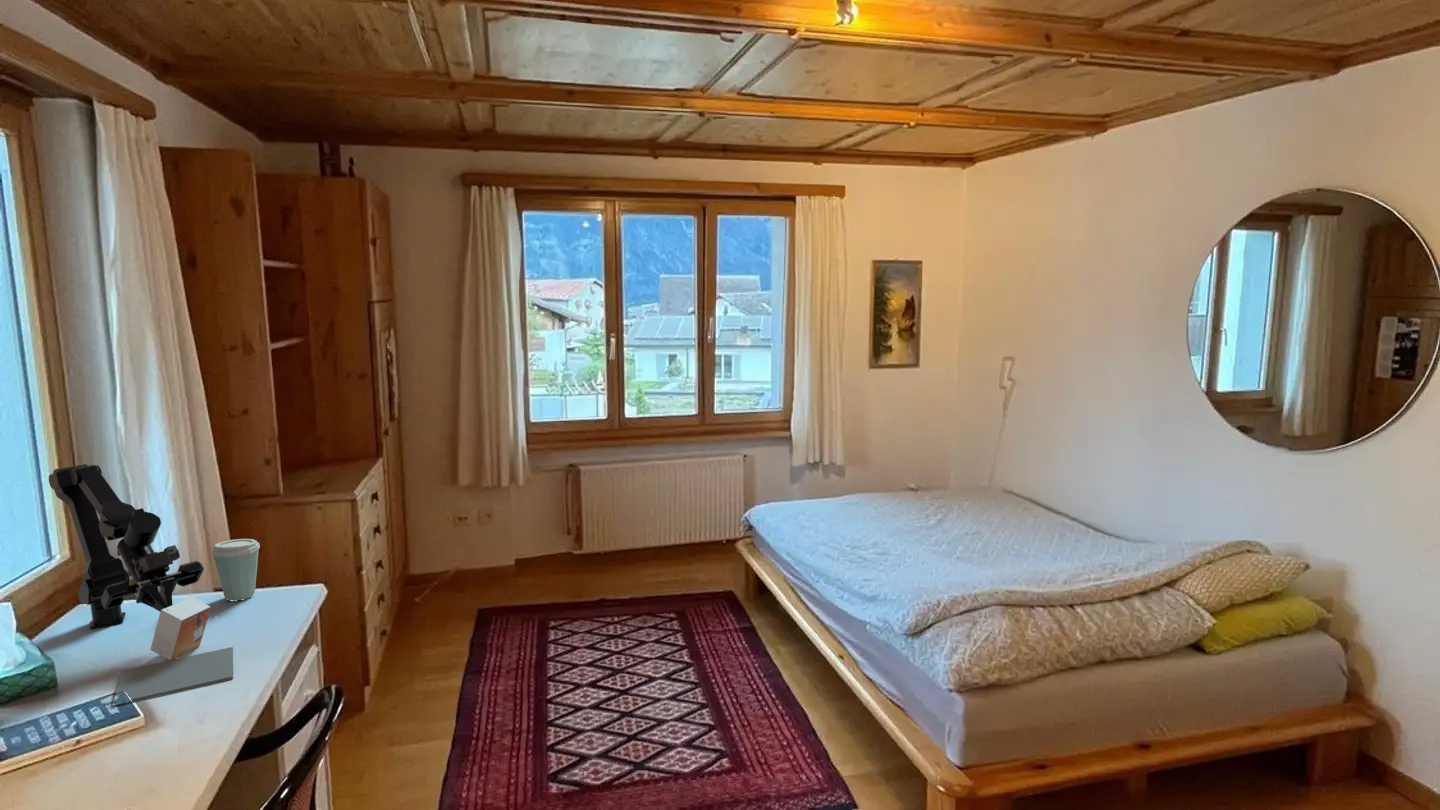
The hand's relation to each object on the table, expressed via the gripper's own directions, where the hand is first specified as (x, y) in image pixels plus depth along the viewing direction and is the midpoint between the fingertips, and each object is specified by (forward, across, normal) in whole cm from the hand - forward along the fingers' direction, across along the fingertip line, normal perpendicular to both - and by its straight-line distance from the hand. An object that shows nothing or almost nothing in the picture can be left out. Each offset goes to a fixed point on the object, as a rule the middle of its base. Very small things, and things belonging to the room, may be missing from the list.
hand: (170, 615), depth 177 cm
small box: (+5, 0, +6) cm, 8 cm away
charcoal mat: (+15, -5, -2) cm, 16 cm away
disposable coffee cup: (-8, +25, +21) cm, 34 cm away
